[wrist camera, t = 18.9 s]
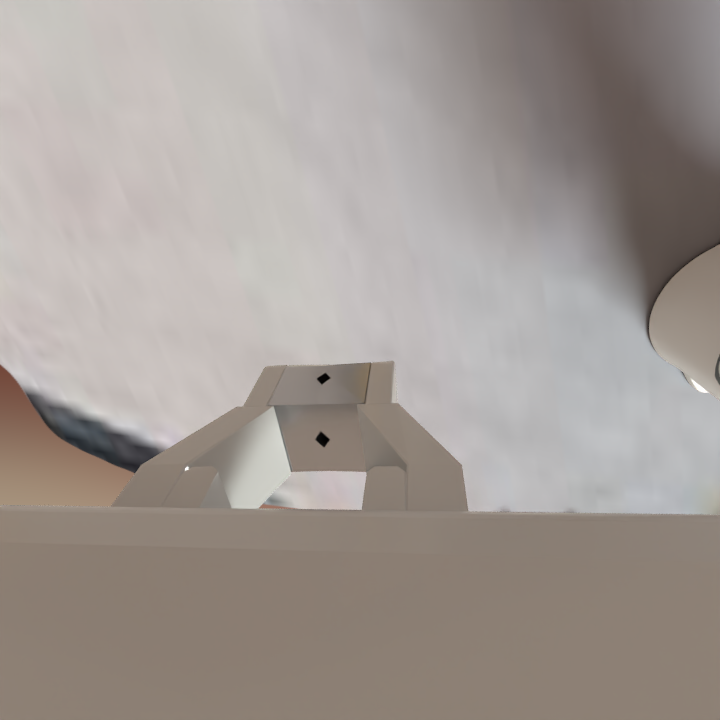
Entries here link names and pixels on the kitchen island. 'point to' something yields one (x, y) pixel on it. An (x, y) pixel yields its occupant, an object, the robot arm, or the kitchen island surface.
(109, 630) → the robot arm
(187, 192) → the kitchen island surface
